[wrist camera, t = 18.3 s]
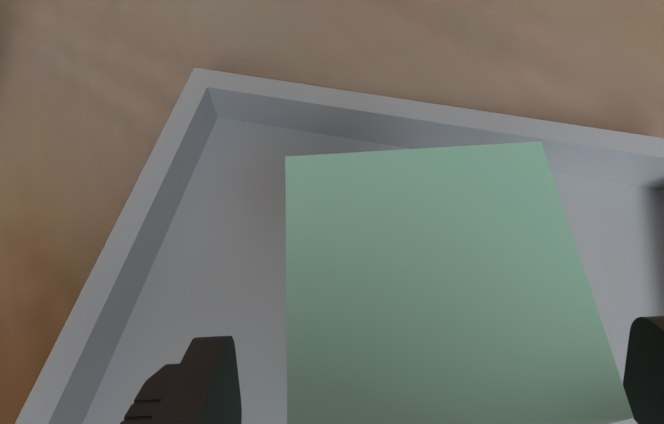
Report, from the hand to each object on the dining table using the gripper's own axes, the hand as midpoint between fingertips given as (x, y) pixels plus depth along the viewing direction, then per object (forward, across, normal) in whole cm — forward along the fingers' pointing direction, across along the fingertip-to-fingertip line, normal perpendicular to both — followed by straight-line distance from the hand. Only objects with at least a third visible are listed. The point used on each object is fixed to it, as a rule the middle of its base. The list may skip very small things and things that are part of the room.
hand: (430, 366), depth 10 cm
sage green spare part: (+6, 0, +4) cm, 8 cm away
